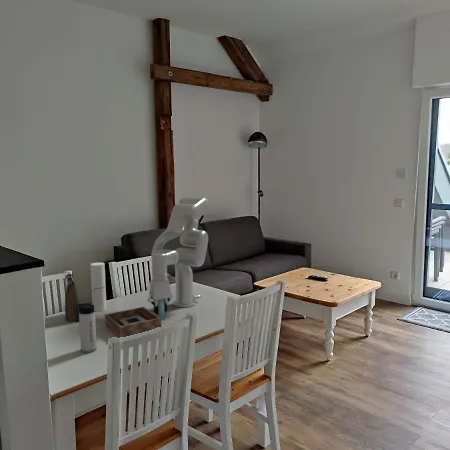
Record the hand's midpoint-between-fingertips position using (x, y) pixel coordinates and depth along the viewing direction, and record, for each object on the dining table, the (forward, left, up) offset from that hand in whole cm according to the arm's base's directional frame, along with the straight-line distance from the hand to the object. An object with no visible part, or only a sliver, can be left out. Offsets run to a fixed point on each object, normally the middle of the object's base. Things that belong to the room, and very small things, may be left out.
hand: (160, 311), depth 222 cm
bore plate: (+17, +5, -3) cm, 18 cm away
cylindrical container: (+21, -31, -3) cm, 38 cm away
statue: (+37, -23, -3) cm, 44 cm away
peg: (0, 0, -3) cm, 3 cm away
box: (+17, +5, -3) cm, 18 cm away
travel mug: (+42, +17, -3) cm, 45 cm away
